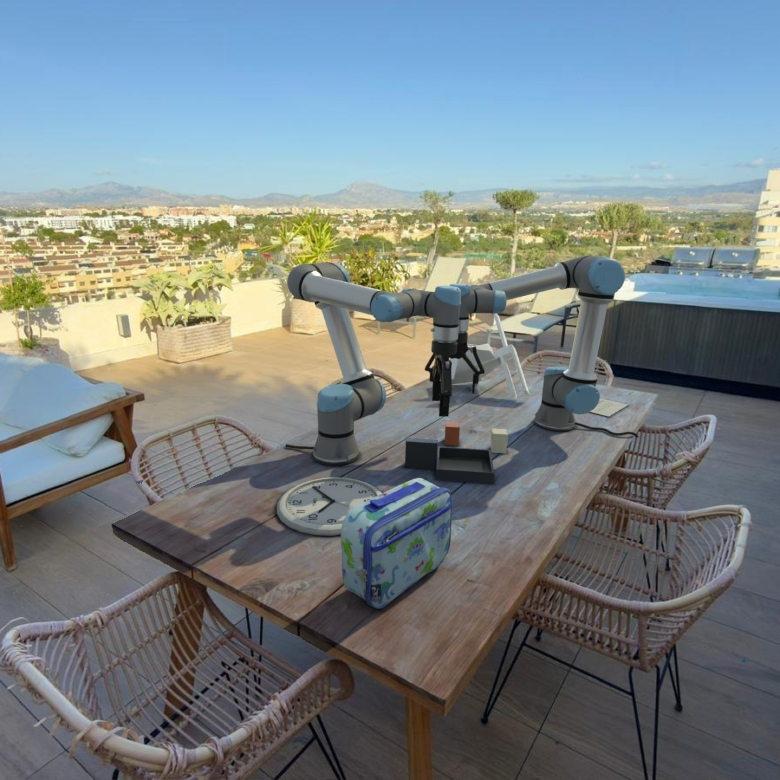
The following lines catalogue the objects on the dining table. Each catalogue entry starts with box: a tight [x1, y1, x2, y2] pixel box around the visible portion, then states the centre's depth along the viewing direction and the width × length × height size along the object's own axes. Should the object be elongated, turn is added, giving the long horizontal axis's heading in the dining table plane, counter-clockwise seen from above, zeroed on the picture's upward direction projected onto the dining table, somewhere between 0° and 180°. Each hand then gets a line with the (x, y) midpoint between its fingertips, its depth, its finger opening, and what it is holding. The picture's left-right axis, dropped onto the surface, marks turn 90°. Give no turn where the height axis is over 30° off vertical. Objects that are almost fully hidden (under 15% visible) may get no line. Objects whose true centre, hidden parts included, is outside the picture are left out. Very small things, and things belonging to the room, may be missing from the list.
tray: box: [404, 437, 495, 485], centre depth 165 cm, size 27×17×9 cm, turn 83°
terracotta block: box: [444, 421, 461, 447], centre depth 185 cm, size 5×5×7 cm
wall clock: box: [276, 476, 383, 537], centre depth 142 cm, size 30×2×30 cm
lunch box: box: [340, 477, 452, 610], centre depth 110 cm, size 26×11×21 cm, turn 134°
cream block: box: [489, 427, 509, 455], centre depth 179 cm, size 5×5×7 cm
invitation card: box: [589, 397, 629, 418], centre depth 226 cm, size 21×1×15 cm
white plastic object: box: [449, 313, 531, 400], centre depth 245 cm, size 37×45×31 cm
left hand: (439, 408), depth 160 cm, fingers open, 13 cm apart
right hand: (453, 391), depth 181 cm, fingers open, 13 cm apart
